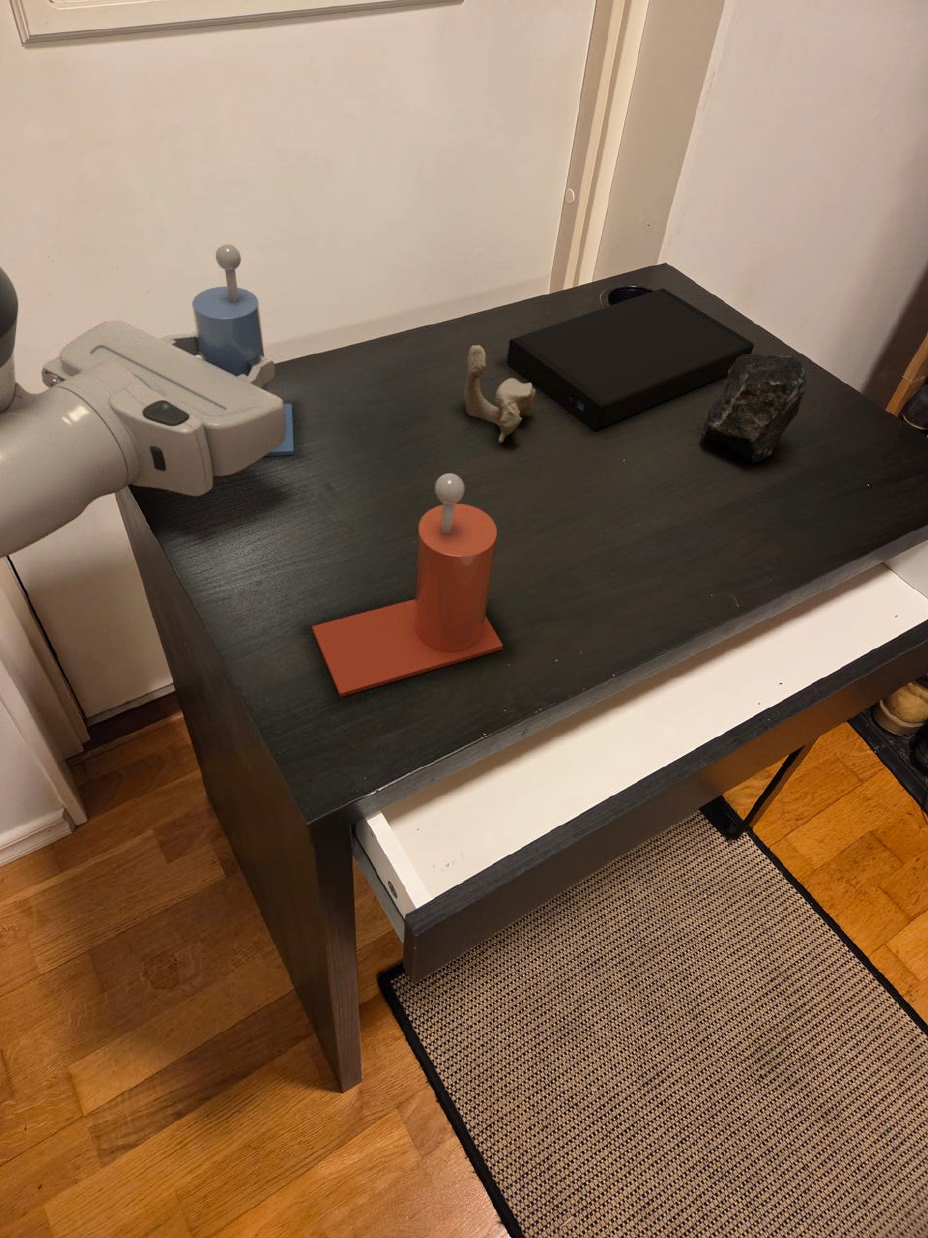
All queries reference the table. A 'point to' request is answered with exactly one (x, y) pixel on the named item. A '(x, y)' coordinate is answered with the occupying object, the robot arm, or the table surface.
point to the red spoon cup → (453, 569)
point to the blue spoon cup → (228, 320)
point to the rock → (756, 404)
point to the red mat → (386, 648)
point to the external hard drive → (626, 356)
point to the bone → (509, 396)
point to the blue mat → (287, 443)
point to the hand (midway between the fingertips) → (240, 351)
